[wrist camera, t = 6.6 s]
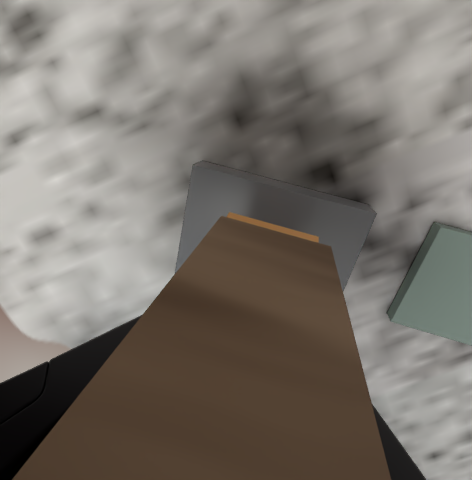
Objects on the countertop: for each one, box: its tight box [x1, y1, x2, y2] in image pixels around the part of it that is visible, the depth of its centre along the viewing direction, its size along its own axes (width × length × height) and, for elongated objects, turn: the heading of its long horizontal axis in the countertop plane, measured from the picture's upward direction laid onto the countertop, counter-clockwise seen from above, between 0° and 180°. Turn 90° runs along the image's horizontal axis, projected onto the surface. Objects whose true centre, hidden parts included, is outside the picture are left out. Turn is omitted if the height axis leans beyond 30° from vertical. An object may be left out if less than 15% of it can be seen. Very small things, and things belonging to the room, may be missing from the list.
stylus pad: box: [387, 222, 472, 346], centre depth 19 cm, size 7×7×1 cm
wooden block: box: [12, 216, 391, 480], centre depth 7 cm, size 4×4×10 cm
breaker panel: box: [175, 161, 377, 291], centre depth 19 cm, size 13×11×7 cm
